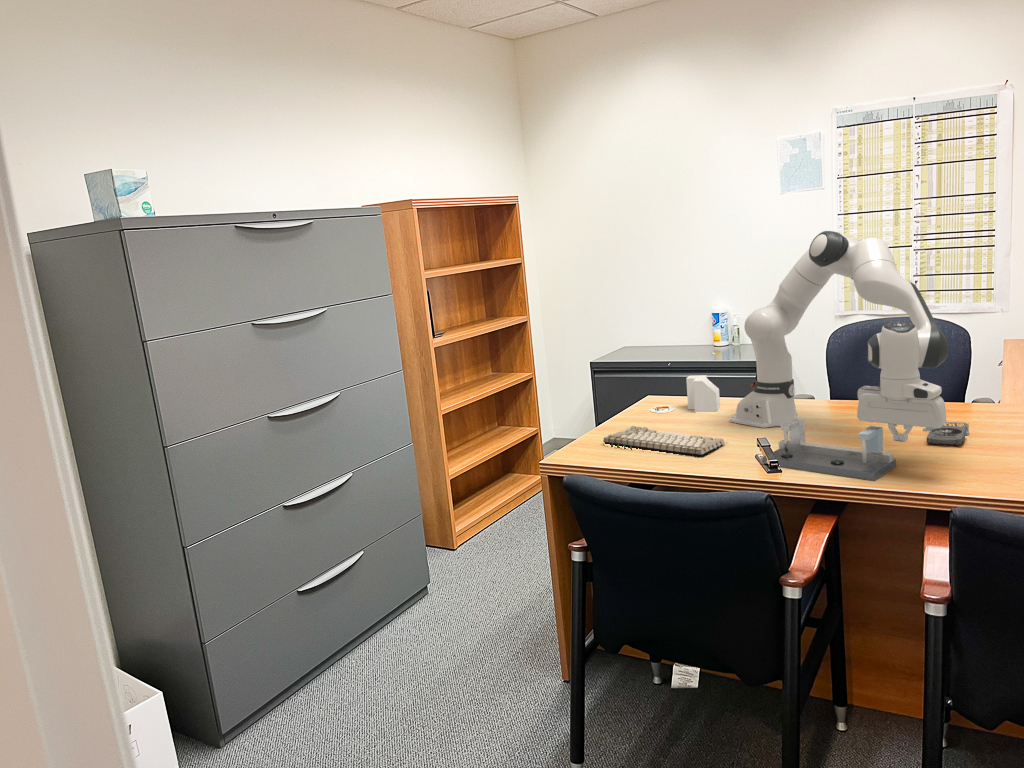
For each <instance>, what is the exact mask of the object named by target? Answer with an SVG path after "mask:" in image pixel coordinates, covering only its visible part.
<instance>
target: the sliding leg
mask: <svg viewBox="0 0 1024 768" xmlns="http://www.w3.org/2000/svg"><path fill="white" fill-rule="evenodd" d="M883 431H884V427H883V426H877V425H870V426H868V427H866V428H865V429H864V430H862V431H861V432H859V433H858V440H861V450H862V461H863V463H866V462H867V452H869V453H877V454H879V453H880V452H884V432H883Z"/></svg>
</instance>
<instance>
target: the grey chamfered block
mask: <svg viewBox="0 0 1024 768" xmlns="http://www.w3.org/2000/svg"><path fill="white" fill-rule="evenodd" d="M685 379H686V393H687V394H686V395H687V396H686V397H687V409H695V410H694V413H695V412H717V411H718V410H719V411H720V409H721V403H720V400H721V399H720V388H719V387H717V385H715V384H714V383H713V382H712V381H710V380H709V378H708V375H707V374H705V375H704V374H703V375H702V374H701V375H699V374H698V375H688V376H687V377H686V378H685ZM719 408H720V409H719ZM719 411H718V412H719ZM718 412H717V413H718Z"/></svg>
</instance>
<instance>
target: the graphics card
mask: <svg viewBox="0 0 1024 768" xmlns="http://www.w3.org/2000/svg"><path fill="white" fill-rule="evenodd" d="M950 424H951V425H950ZM969 424H970V423H969V422H965V421H964V422H962V421H961V422H959V421H958V422H956V421H955V422H954V421H953V422H952V421H946V423H945V424H944V425H943V426H942V427H940V428H929V427H922V432H927V431H930V432H928V434H927V436H926V443H930V444H936V443H938V444H940V445H953V444H956V446H957V445H958V446H961V444H962V443H964V442H965V440H966V439H965V436H968V435H969V434H970V433H969V432H970V431H969V430H970V429H969V426H970V425H969ZM969 436H970V435H969Z"/></svg>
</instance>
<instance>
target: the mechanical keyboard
mask: <svg viewBox="0 0 1024 768" xmlns="http://www.w3.org/2000/svg"><path fill="white" fill-rule="evenodd" d="M603 442H604V443H605V444H610V445H611V447H613V445H615V446H617V448H620V447H619V446H622V447H623V446H624V449H623V450H625V449H626V448H625V447H628V448H630V449H631V450H630V451H633V450H632V448H636V449H638V448H639V449H642V450H651V451H659V452H666V453H673V454H679V455H678V456H683V455H685V456H686V457H692V458H696V459H699V458H700V459H703V458H705V457H707V456H708V455H711V454H713V453H715V452H716V451H718V450H719V449H721V448H722V447H723V445H725V444H728V442H726V443H725V440H724V438H719V437H714V438H713V437H712V436H711V437H710V436H702V435H692V434H689V433H681V432H673V431H663V430H653V429H649V428H648V427H646V426H643V427H642V426H635V425H631V426H630V427H627V428H625V429H622V430H621V431H617V432H615V433H613V434H609V435H608V436H604V437H603ZM604 443H603V444H604ZM617 448H616V449H617ZM685 456H684V457H685Z"/></svg>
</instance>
